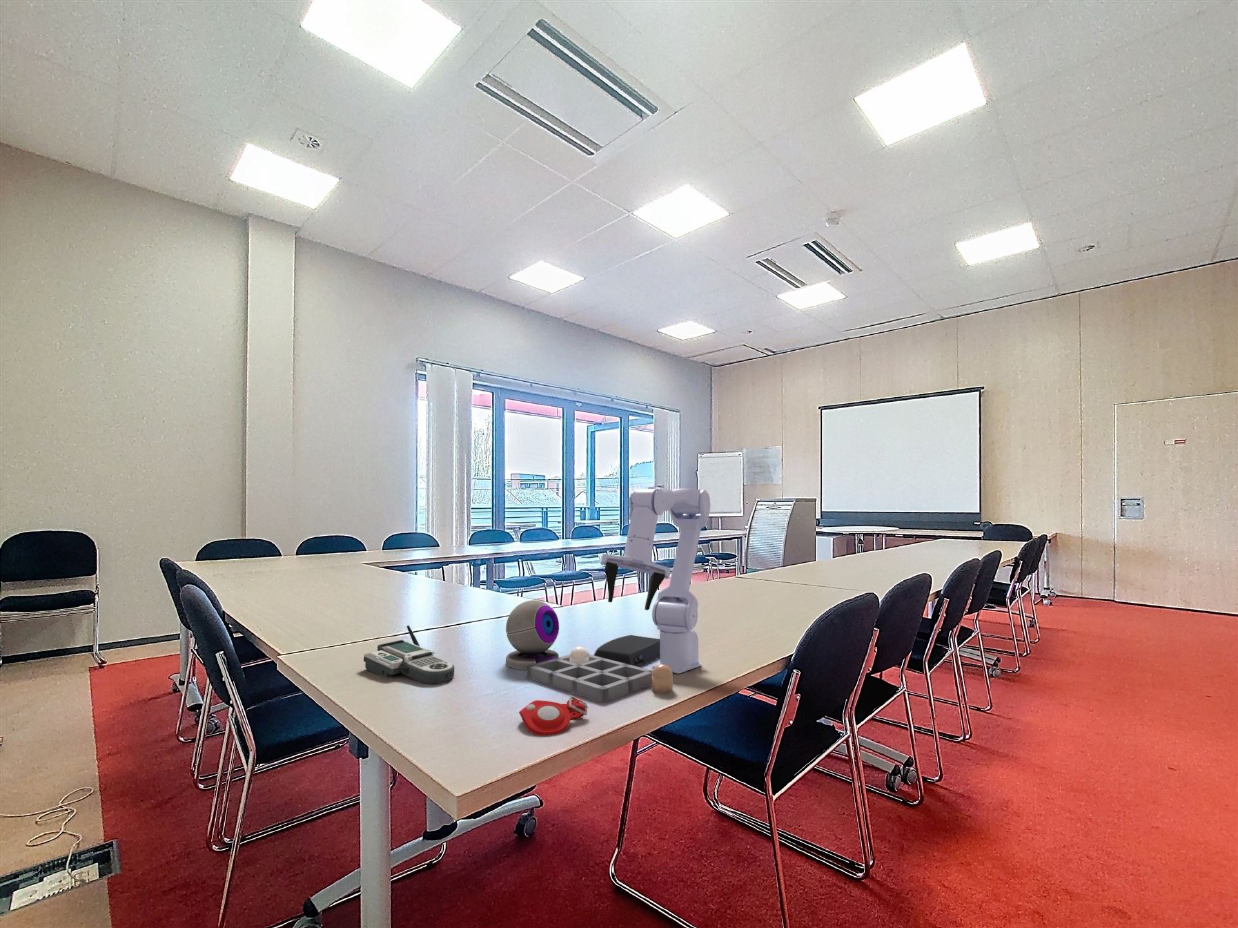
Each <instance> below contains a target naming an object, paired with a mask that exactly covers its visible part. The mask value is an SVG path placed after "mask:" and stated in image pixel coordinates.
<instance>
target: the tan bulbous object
mask: <svg viewBox="0 0 1238 928" xmlns="http://www.w3.org/2000/svg"><path fill="white" fill-rule="evenodd" d="M673 675H674V673H673V672H672V670H671V669H670V667H669V666H667V665H665V664H659V665H657V666H655V667H653V669H652V685H651V692H652V693H654V692H655V694H659V695H668V694H671V692H672V693H673V691H674V676H673Z"/></svg>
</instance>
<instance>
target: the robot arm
mask: <svg viewBox="0 0 1238 928" xmlns="http://www.w3.org/2000/svg"><path fill="white" fill-rule="evenodd" d="M628 508H629V509H628V510H629V511H628V519H629V525H628V526H629V527H628V532H627V535H626V541H625V547H624V552H623V553H624V554H623V555H614V554H609V553H608V554H607V553H602V554H601V560H600V565H603V566H604V574H605V578H606V582H607V590H608V592H607V593H608V594H607V595H608V600H607V602H608V603H612V602H613V600H614V593H615V585H616V580H617V575H618V571H619V568H621V569H625V570H630V571H634V572H637V573H643V574H648V575H650V579H649V580H648V581H649V582H648V588H647V589H648V590H647V595H646V599H645V604H644V605H645V606H644V610H645V611H649V610H650V608H651V605H652V602H653V600H654V597H655V596H656V593H657V591H658V589H659V587H660V586H661V584H662V583H663V581H664V580H665V579H667V580H668V579H669V578H670V581H669V586H668V587H666V588H664V589H662V590H661V591H660V592H658V593H657V596H656V600H655V602H654V604H653V606H652V610H651V618H652V622H653V623H654V625H655V626H656V629H657V630H658V631H659V639H660V657H659V662H657V663H655V664H653V665H652V668H654V667H655V666H657V665H659V664H665V665H667V666H669V667H670V669H671V670H672V673H673V674H674V673H675V674H683V673H684V672H688V671H689V670H693V669H695V668H698V667H701V666H702V665H703V663H701V662H700V661H699V637H698V636H699V635H698V634H697V632H696V630H695V629H694V628H695V627H696V625H697V623H698V618H699V614H698V613H699V612H698V609H699V603H698V602H699V601H698V599H697V597H696V595H694V594H693V593H692V592H691V591H690V587H691V582H692V577H693V571H694V566H695V560H696V556H697V550H698V546H699V540H700V535H701V530H702V529H703V528H704V527H706V526H707V525H708V521H709V517H710V511H711V498H710V494H709V493H708V491H707V490H706V489H702V490H701V489H698V488H688V487H687V488H686V487H685V488H672V489H671V488H669V487H668V486H665V484H656V486H648V487H647V488H646V489H645V488H644V489H643V488H642V489H640V488H639V489H635V490H634V491H633V492H631V494H630V496H629V497H628ZM668 511H669V514H670V516H671V520H672V522H673V525H674V526H676V527H677V528H679V529H680V533H679V537H678V542H677V547H676V553H675V557H674V562H673V566H672V568H671V567H669V566H664V565H661V564H657V563H655V562H652V561H651V559H652V553H653V548H654V547H653V546H654V542H655V535H656V530H657V523H658V516H660V517H662V515H663V514H664V512H668ZM670 575H671V576H670Z"/></svg>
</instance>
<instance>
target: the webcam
mask: <svg viewBox="0 0 1238 928" xmlns="http://www.w3.org/2000/svg"><path fill="white" fill-rule="evenodd" d="M505 633H506V637H507V640H508V642H509V644H510V646H512V647H513V649H514V651H511V652H510V653H507V655H506V657H505V665H506V666H508V667H509V668H511V669H512V668H513V669H517V670H526V671H527V666H529V665H533V664H537V663H540V662H544V661H548V660H552V659H555V658H559V657H560V655H559V653H558V652H557V651H555V650H553V649H550V648H552V646H553V645H554V643H555V642H556V640H557V638H558V636H559V633H560V621H559V617H558V615H557V612H556V611H555V610H554V609H553V608H552V607H551V606H550V605H549V604H548V603H546V602H543V601H541V600H535V599H533V600H526V601H524V602H521V603H519V604H518V605H516V607H514V608H513V610H512V611H511V612H510V614H509V615H508V617H507V620H506V624H505Z"/></svg>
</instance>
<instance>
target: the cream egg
mask: <svg viewBox="0 0 1238 928" xmlns="http://www.w3.org/2000/svg"><path fill="white" fill-rule="evenodd" d="M588 654H589V651H588V650H587V649H586V648H585V647H583V646H576V647H574V648H573V649H572V650H571V651H570V654H569V655H570V662H573V663H576V664H581V663H584V662H588V661H589V655H588Z"/></svg>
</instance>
